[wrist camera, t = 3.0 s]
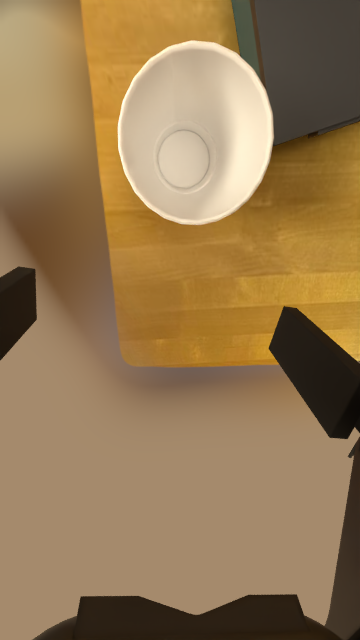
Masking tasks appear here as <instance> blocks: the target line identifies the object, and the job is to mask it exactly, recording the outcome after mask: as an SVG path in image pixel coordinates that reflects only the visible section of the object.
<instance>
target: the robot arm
mask: <svg viewBox="0 0 360 640" xmlns="http://www.w3.org/2000/svg"><path fill="white" fill-rule="evenodd" d="M36 319H37V315H36V279H35V269H32V268H25V267H17V268H15V269H14V270H12V271H10V272H9V273H7V274H5V275H4V276H2V277H0V360H1V359H2V358H3V357H4V356H5V355H6V354H7V352H8V351H9V350H10V349H11V348H12V347H13V346H14V344H15V343H16V342H17V341H18V340H19V339H20V338H21V337H22V335H23V334H24V333H25V332H26V331H27V330H28V329H29V327H30V326H31V325H32V324H33V323H34V322H35V321H36ZM269 350H270V351H271V353H272V354H273V356H274V357H275V359H276V360H277V362H278V363H279V364H280V366H281V367H282V369H283V370H284V372H285V373H286V374H287V376H288V377H289V379H290V380H291V382H292V383H293V385H294V386H295V387H296V389H297V391H298V392H299V394H300V395H301V397H302V398H303V399H304V401H305V402H306V404H307V405H308V407H309V408H310V410H311V411H312V412H313V414H314V415H315V417H316V418H317V420H318V421H319V423H320V424H321V426H322V427H323V428H324V430H325V431H326V433H327V434H328V436H329V437H330V438H340V439H348V437H349V436H350V434H351V432H352V430H353V429H354V427H355V428H356V429H357V430H358V431H359V433H360V363H358V362H357V361H356V360H355V359H354V358H353V357H351V356H350V355H349V354H348V353H347V352H346V351H345V350H343V349H342V348H341V347H340V346H339V345H338V344H337V343H336V342H334V341H333V340H332V339H331V338H330V337H329V336H328V335H326V334H325V333H324V332H323V331H322V330H321V329H320V328H318V327H317V326H316V325H315V324H314V323H313V322H312V321H311V320H309V319H308V318H307V317H306V316H305V315H304V314H303V313H301V312H300V311H299V310H298V309H297V308H292V307H285V306H284V307H283V310H282V313H281V316H280V318H279V321H278V324H277V327H276V329H275V332H274V335H273V338H272V340H271V343H270V346H269ZM359 362H360V361H359ZM353 455H354V460H353V466H352V473H351V479H350V485H349V492H348V498H347V504H346V510H345V517H344V523H343V529H342V535H341V541H340V548H339V554H338V561H337V567H336V573H335V579H334V586H333V592H332V598H331V604H330V610H329V615H328V618H327V621H326V624H325V626H323V625H322V624H320V623H318V622H317V621H314V620H313V619H311V618H309V617H307V616H304V614H303V611H302V608H301V605H300V603H299V600H298V597H297V595H247V596H245V597H242V598H240V599H237V600H235V601H232V602H230V603H228V604H225V605H223V606H220V607H218V608H216V609H213V610H211V611H208V612H206V613H203V614H200V615H193V614H189V613H186V612H183V611H180V610H178V609H175V608H172V607H169V606H166V605H163V604H160V603H157V602H154V601H151V600H148V599H146V598H143V597H140V596H88V597H87V596H85V597H84V596H83V597H81V598H80V603H79V609H78V614H77V616H75V617H73V618H70V619H67V620H65V621H62V622H60V623H59V624H57V625H55V626H53V627H51V628H49V629H47V630H46V631H44V632H43V633H42V634H40V635H39V636H37V637H36V638H34V639H33V640H360V437H359V439H358V441H357V442H356V444H355V445H354V447H353V449H352V450H351V452H350V454H349V455H348V457H349V458H351V457H352V456H353Z"/></svg>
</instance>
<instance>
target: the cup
mask: <svg viewBox="0 0 360 640" xmlns="http://www.w3.org/2000/svg"><path fill="white" fill-rule="evenodd" d="M273 140H274V129H273V113H272V109H271V106H270V102H269V99H268V96H267V92H266V89H265V88H264V86H263V84H262V83H261V81H260V79H259V77H258V76H257V74H256V72H255V71H254V69H253V68H252V67H251V66H250V65H249V64H248V63H247V62H246V61H245V60H243V59H242V58H241V57H240V56H239V55H238V54H237V53H236V52H234V51H232V50H230V49H227V48H225V47H223V46H221V45H219V44H217V43H213V42H203V41H193V40H192V41H188V42H184V43H180V44H176V45H172V46H169V47H168V48H166V49H164V50H163V51H161V52H160V53H158V54H157V55H155V56H154V57H152V58H150V59H149V60H148V62H147V63H146V64H145V65H144V66H143V67H142V69H141V70H140V71H139V72H138V73H137V74H136V76H135V77H134V78H133V80H132V82H131V84H130V87H129V89H128V91H127V93H126V95H125V97H124V99H123V102H122V107H121V112H120V117H119V122H118V150H119V154H120V158H121V162H122V166H123V169H124V173H125V175H126V177H127V179H128V180H129V182H130V184H131V186H132V188H133V190H134V192H135V193H136V194H137V195H138V196H139V198H140V199H141V200H142V201H143V202H144V203H145V204H146V206H147V207H148V208H150V209H151V210H153V211H154V212H156V213H157V214H159V215H160V216H162V217H163V218H165V219H168V220H171V221H174V222H177V223H180V224H188V225H203V224H207V223H212V222H216V221H219V220H221V219H223V218H225V217H227V216H228V215H230V214H232V213H234V212H235V211H237V210H238V209H239V208H240V207H241V206H242V205H243V204H244V203H246V202H247V201H248V200H249V199H250V197H251V196H252V195H253V193H254V192H255V190H256V189H257V187H258V186H259V185H260V183H261V182H262V179H263V177H264V174H265V172H266V169H267V167H268V164H269V162H270V158H271V152H272V146H273Z"/></svg>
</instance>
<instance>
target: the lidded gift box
mask: <svg viewBox="0 0 360 640" xmlns="http://www.w3.org/2000/svg"><path fill="white" fill-rule="evenodd" d="M231 1H232V7H233V13H234V19H235V25H236V31H237V37H238V44H239V50H240V56H241V58H242V59H243V60H245V61H246V62H247V63H248V64H249V65H250V66H251V67H252V68H253V69H254V71H255V72H256V74H257V76H258V77H259V79H260V81H261V83H262V84H263V86H264V88H265V89H266V92H267V96H268V99H269V102H270V106H271V109H272V113H273V129H274V140H273V146H275V145H278V144H281V143H284V142H287V141H290V140H293V139H296V138H299V137H301V136H304V135H307V134H308V138H311V137H314V136H317V135H320V134H323V133H326V132H329V131H332V130H335V129H338V128H341V127H344V126H347V125H350V124H353V123H356V122H358V121H360V0H231Z"/></svg>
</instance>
